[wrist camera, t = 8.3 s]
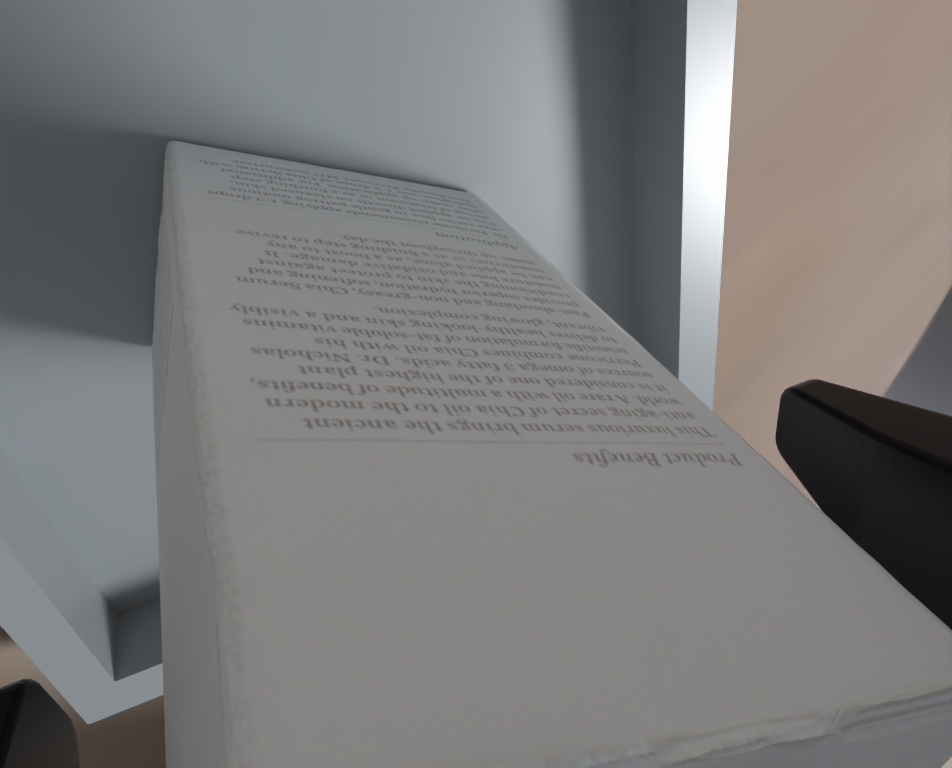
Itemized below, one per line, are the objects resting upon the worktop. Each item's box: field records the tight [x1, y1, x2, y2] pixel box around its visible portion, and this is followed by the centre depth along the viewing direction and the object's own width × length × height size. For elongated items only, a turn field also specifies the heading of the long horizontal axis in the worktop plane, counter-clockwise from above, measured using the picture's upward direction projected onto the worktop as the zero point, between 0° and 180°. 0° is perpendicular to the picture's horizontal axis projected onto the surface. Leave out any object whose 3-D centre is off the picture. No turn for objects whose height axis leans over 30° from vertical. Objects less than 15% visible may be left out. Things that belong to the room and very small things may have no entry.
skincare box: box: [152, 141, 952, 768], centre depth 10 cm, size 6×4×12 cm
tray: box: [0, 0, 737, 725], centre depth 14 cm, size 16×16×2 cm
